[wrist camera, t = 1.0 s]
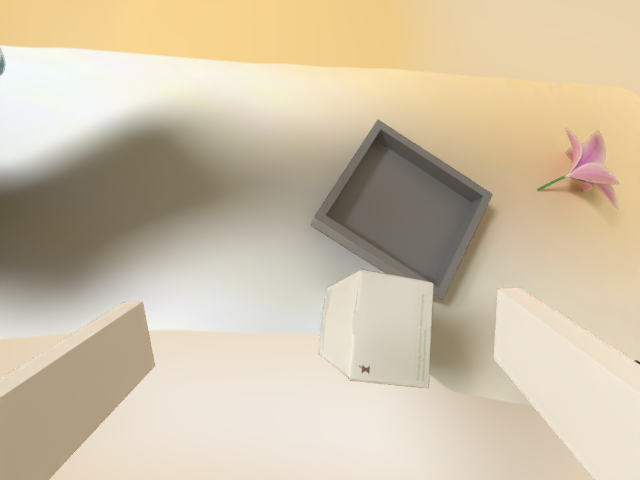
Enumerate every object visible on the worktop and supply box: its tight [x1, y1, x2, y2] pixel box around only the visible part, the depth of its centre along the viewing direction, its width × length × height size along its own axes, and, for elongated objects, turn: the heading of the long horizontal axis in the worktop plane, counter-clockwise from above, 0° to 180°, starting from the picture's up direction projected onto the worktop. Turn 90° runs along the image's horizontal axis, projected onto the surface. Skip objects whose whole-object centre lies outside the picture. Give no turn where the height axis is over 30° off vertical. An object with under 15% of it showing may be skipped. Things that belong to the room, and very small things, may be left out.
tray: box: [311, 120, 492, 300], centre depth 41 cm, size 18×16×4 cm
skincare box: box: [318, 270, 433, 388], centre depth 31 cm, size 8×7×16 cm
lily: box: [537, 128, 619, 210], centre depth 45 cm, size 12×12×10 cm
